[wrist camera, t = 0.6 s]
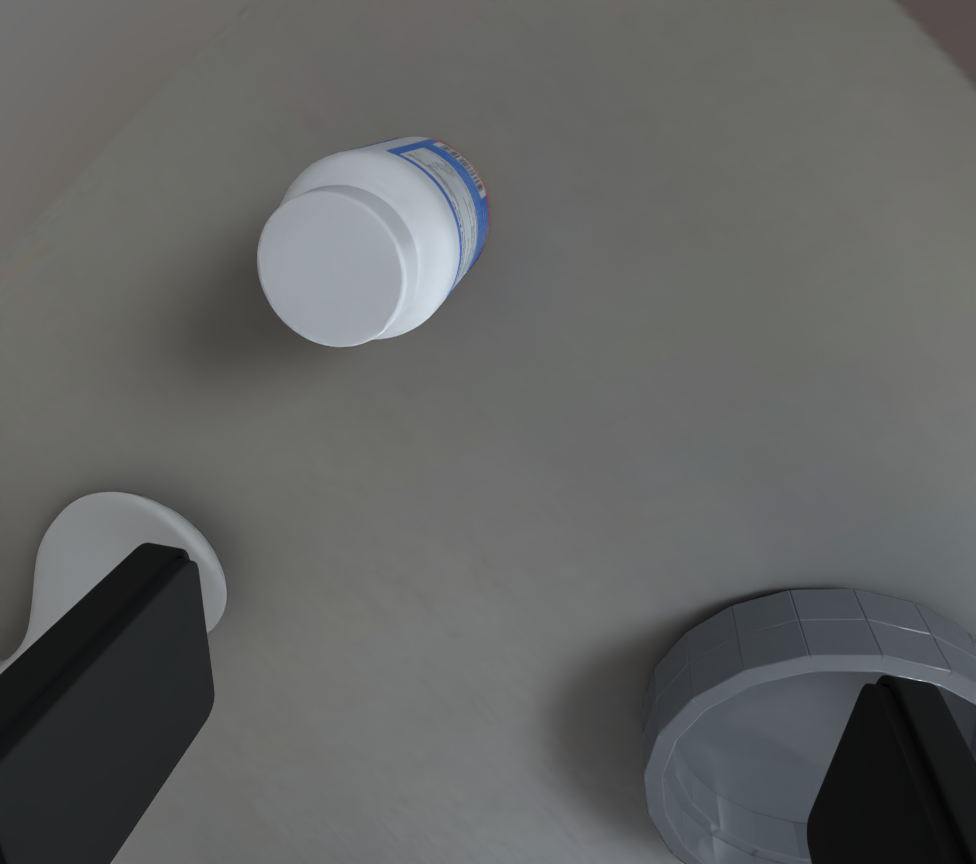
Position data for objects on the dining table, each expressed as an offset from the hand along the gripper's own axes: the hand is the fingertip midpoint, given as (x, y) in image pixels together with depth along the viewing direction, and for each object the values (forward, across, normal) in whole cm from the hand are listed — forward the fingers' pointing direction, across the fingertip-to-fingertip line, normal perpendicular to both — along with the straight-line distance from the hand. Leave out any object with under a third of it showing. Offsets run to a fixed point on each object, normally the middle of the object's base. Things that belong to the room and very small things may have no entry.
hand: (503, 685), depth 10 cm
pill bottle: (+20, +6, -3) cm, 21 cm away
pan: (+19, -13, +18) cm, 30 cm away
